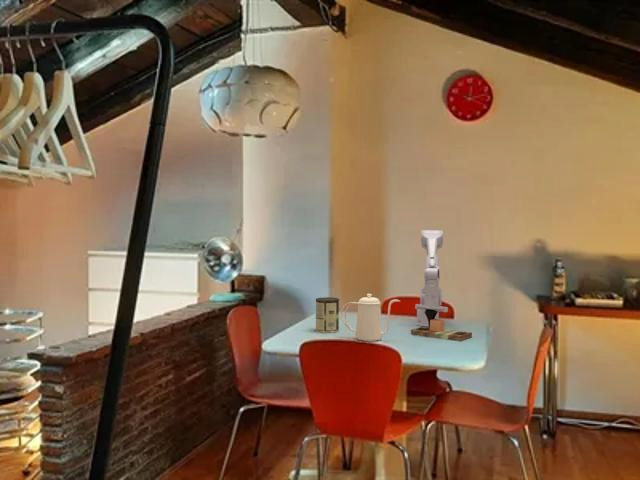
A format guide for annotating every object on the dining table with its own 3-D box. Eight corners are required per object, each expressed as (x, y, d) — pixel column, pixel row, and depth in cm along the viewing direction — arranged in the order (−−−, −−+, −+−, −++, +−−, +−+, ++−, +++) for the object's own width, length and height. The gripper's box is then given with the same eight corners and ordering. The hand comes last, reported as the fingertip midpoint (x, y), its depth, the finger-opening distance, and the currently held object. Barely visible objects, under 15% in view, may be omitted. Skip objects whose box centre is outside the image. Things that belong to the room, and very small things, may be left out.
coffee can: (326, 327, 316) (326, 296, 315) (343, 330, 309) (344, 298, 308) (310, 330, 308) (310, 298, 308) (327, 333, 301) (328, 301, 301)
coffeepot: (396, 344, 281) (397, 297, 280) (337, 339, 289) (337, 293, 288) (402, 339, 291) (403, 293, 290) (344, 334, 299) (345, 290, 298)
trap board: (410, 334, 301) (410, 330, 301) (422, 331, 310) (422, 326, 310) (460, 341, 288) (461, 336, 288) (471, 337, 297) (471, 332, 297)
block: (429, 330, 299) (430, 319, 299) (434, 328, 303) (435, 318, 303) (439, 332, 297) (439, 321, 296) (443, 330, 300) (444, 320, 300)
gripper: (412, 295, 302) (411, 326, 302) (442, 298, 293) (442, 330, 294) (419, 293, 307) (419, 324, 308) (450, 296, 299) (449, 328, 300)
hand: (430, 327), depth 301 cm, fingers closed
